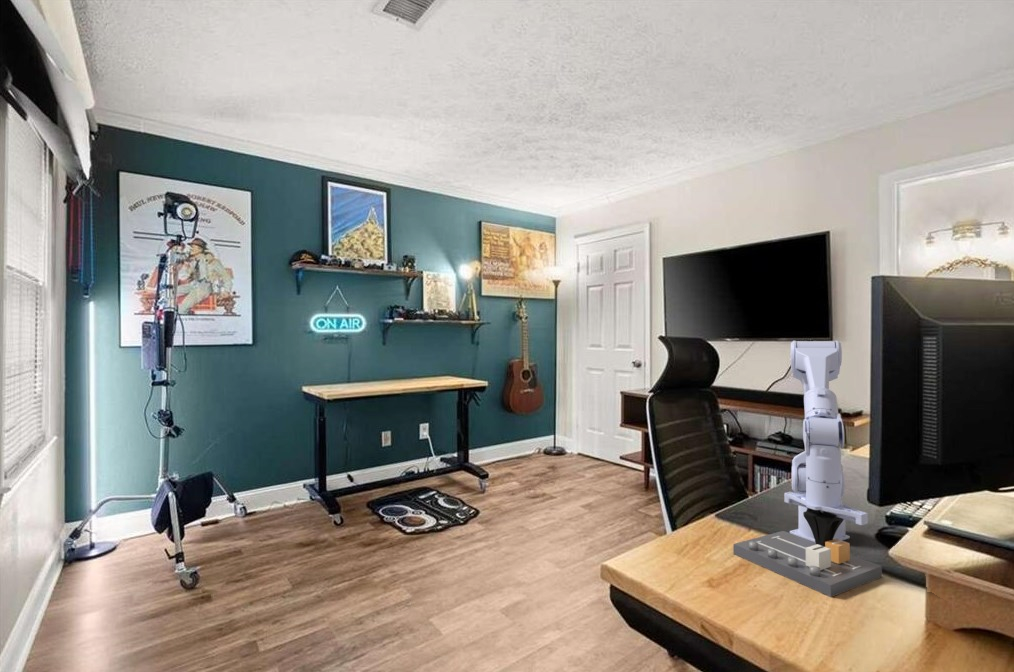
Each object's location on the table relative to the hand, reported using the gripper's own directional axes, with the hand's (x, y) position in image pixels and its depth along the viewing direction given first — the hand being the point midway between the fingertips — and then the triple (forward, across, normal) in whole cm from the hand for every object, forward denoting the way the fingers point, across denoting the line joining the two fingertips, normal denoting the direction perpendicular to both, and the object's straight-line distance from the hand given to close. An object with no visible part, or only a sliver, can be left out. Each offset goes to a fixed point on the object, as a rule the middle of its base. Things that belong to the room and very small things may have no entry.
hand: (823, 550), depth 94 cm
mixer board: (+3, -2, -3) cm, 5 cm away
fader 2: (+1, +2, 0) cm, 3 cm away
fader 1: (+1, +2, -6) cm, 7 cm away
